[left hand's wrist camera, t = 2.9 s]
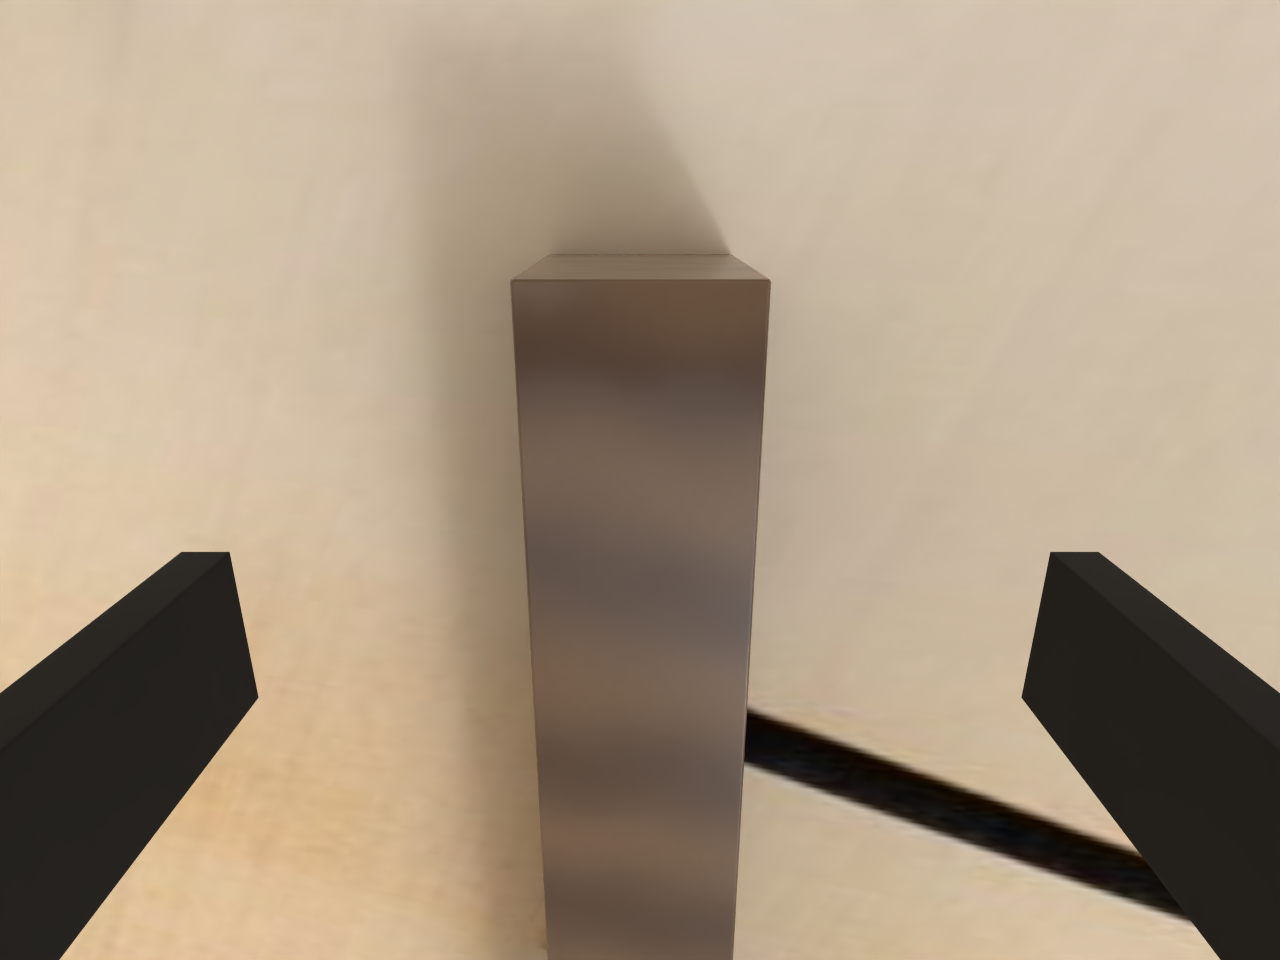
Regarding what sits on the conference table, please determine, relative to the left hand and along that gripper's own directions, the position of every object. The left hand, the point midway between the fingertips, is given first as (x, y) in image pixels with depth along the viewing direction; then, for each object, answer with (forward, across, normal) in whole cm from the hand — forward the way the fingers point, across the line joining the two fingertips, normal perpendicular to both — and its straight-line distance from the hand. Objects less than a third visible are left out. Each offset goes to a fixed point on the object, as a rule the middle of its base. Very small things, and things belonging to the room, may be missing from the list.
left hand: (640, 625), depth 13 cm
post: (+15, 0, -34) cm, 37 cm away
